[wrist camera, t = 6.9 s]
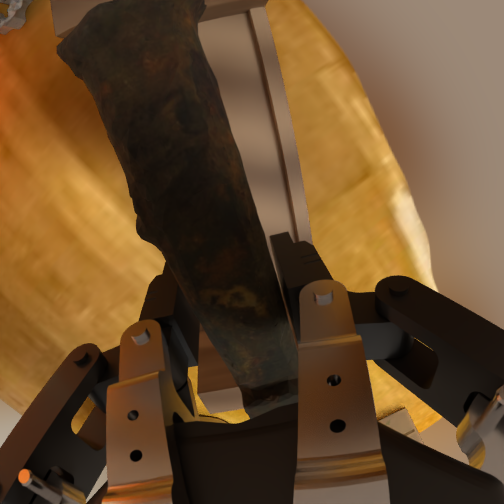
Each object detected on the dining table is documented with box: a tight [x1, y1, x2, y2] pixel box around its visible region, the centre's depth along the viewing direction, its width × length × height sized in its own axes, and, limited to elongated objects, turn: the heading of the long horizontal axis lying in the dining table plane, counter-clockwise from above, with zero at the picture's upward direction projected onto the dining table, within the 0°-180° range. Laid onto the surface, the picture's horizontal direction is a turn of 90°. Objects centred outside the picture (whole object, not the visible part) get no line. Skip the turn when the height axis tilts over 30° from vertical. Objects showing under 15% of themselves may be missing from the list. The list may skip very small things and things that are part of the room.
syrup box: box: [379, 408, 424, 444], centre depth 38 cm, size 6×6×14 cm
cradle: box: [50, 0, 313, 414], centre depth 19 cm, size 30×11×9 cm, turn 12°
